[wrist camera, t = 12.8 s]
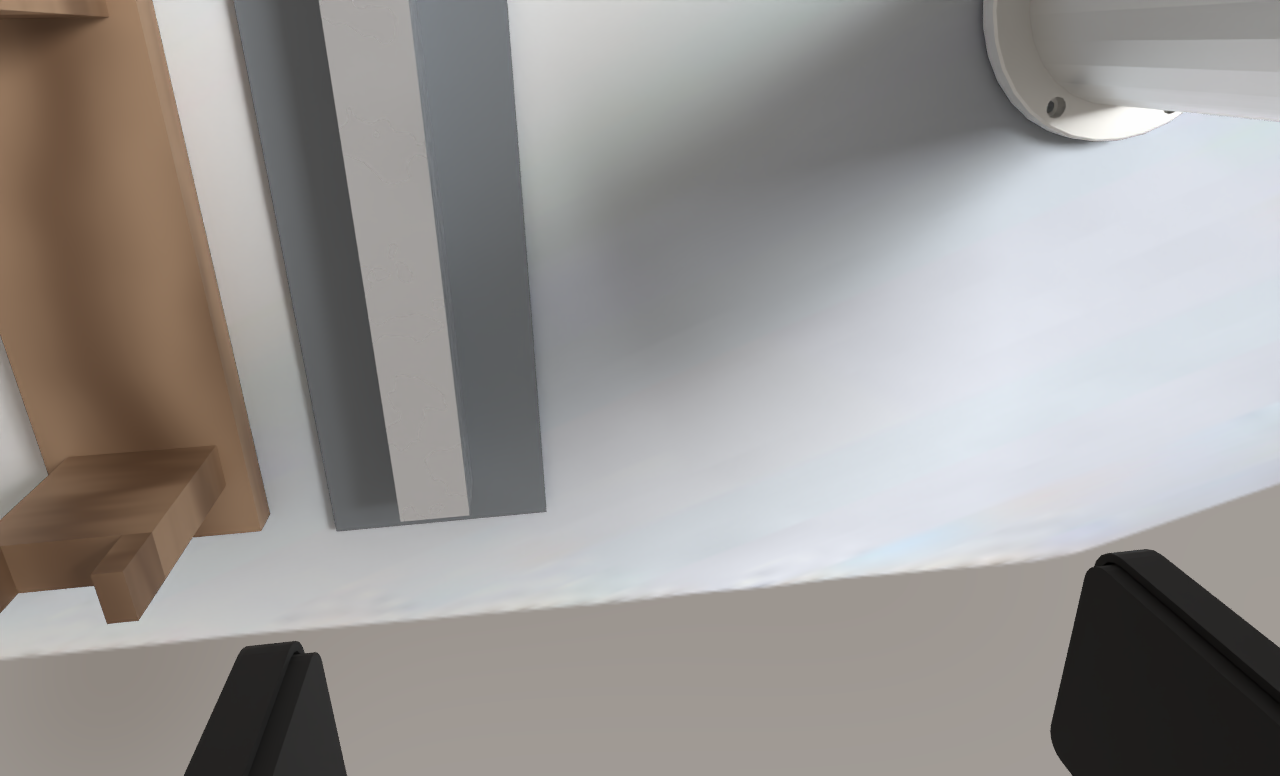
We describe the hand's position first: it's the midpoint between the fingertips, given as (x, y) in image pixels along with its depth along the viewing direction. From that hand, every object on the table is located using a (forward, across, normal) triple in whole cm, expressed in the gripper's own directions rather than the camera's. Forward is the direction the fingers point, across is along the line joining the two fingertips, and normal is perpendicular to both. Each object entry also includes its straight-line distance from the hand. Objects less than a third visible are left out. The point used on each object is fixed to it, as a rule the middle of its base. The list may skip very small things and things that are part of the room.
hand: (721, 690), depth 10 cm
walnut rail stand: (+28, +19, 0) cm, 34 cm away
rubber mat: (+28, +7, 0) cm, 29 cm away
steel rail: (+28, +7, 0) cm, 29 cm away
